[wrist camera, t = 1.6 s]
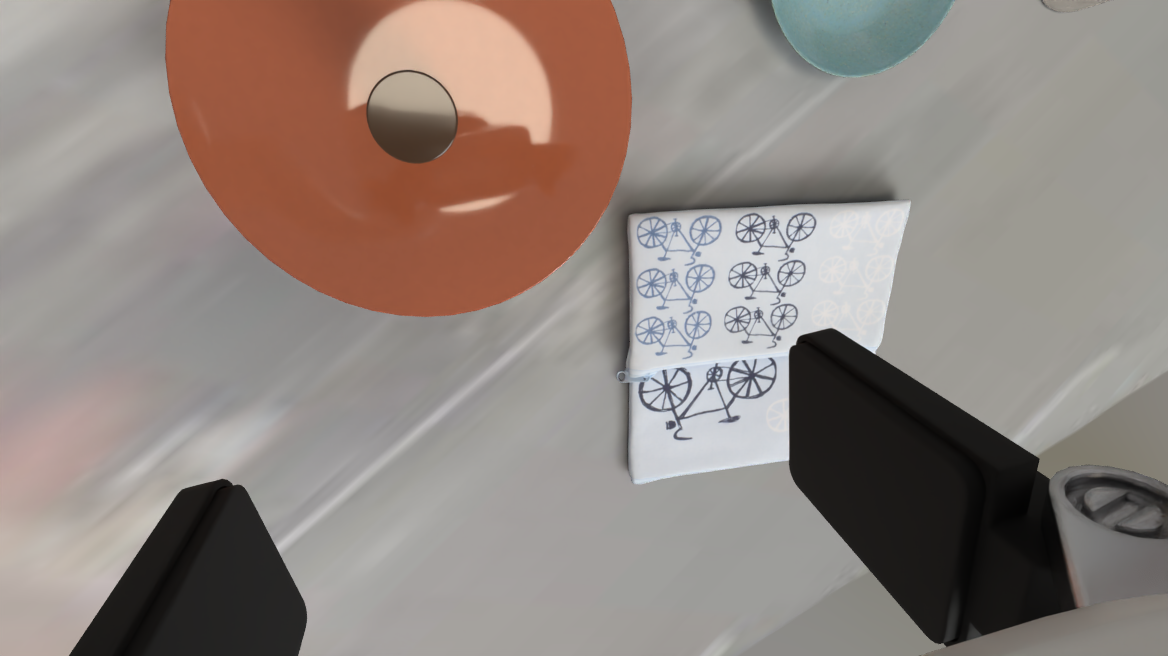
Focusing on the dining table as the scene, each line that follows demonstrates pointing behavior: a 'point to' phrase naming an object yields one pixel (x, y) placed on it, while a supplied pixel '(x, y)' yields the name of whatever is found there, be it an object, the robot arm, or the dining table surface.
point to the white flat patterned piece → (742, 322)
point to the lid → (405, 138)
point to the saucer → (858, 31)
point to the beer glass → (1072, 4)
